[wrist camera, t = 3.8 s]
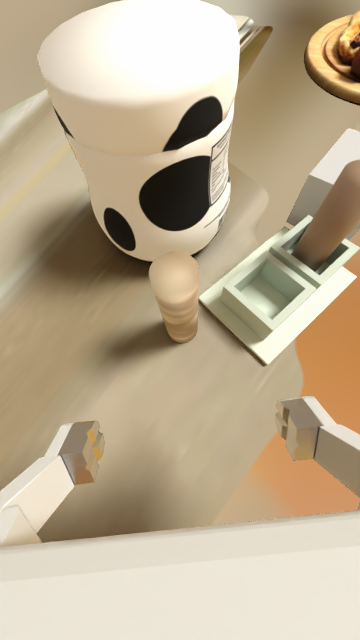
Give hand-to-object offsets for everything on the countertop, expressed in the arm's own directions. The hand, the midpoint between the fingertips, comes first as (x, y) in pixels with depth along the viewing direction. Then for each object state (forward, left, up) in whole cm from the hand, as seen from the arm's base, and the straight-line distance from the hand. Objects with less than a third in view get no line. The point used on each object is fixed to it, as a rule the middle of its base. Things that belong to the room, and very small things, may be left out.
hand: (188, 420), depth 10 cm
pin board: (+18, +4, -14) cm, 23 cm away
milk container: (+15, +22, -15) cm, 30 cm away
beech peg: (+6, +8, -14) cm, 17 cm away
